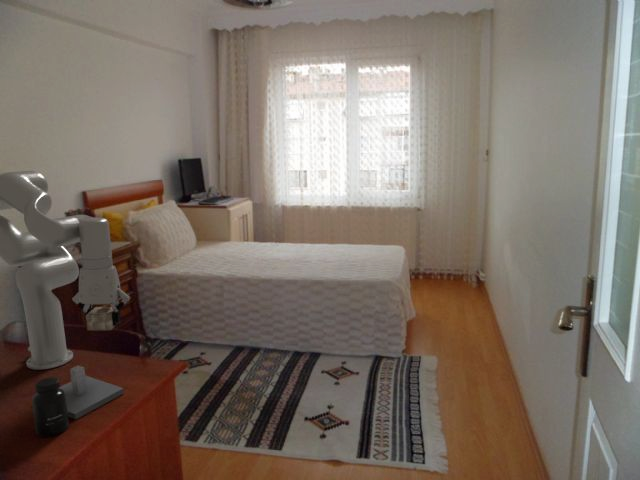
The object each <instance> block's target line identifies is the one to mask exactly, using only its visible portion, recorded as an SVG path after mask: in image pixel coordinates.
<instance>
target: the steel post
mask: <svg viewBox="0 0 640 480" xmlns="http://www.w3.org/2000/svg"><path fill="white" fill-rule="evenodd" d="M85 369H86V368H85V367H84V366H82V365H76V366H74V367H71V368H69V373H70V380H71V381H70V382H72V389H73V394H74V395H77V396H81V395H83V394H85V393H87V385H86V377H85V375H86V372H85V371H86V370H85Z"/></svg>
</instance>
